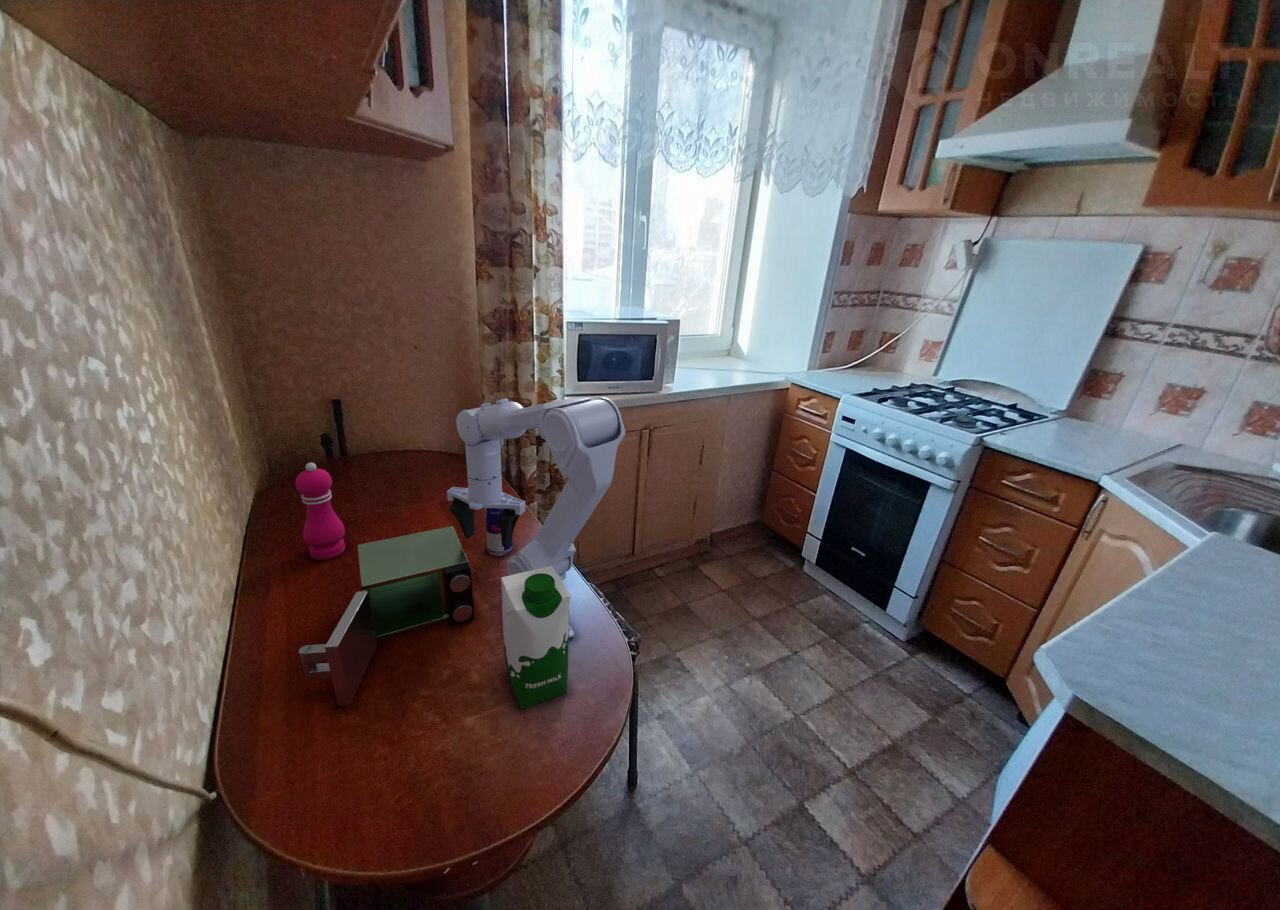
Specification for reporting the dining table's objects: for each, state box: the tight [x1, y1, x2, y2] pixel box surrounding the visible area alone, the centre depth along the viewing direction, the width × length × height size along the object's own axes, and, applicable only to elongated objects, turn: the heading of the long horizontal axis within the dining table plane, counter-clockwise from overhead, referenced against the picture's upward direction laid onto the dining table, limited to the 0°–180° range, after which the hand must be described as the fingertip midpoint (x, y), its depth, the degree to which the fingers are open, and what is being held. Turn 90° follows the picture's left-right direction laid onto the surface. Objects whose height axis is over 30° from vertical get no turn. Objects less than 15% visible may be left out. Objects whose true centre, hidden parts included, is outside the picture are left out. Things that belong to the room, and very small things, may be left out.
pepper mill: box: [295, 462, 346, 560], centre depth 99 cm, size 7×7×20 cm
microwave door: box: [298, 590, 378, 707], centre depth 72 cm, size 6×12×11 cm, turn 9°
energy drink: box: [484, 508, 514, 557], centre depth 105 cm, size 5×5×12 cm
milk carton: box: [500, 566, 571, 711], centre depth 71 cm, size 9×9×20 cm
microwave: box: [357, 525, 475, 641], centre depth 87 cm, size 15×16×11 cm
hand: (488, 540), depth 92 cm, fingers open, 7 cm apart
